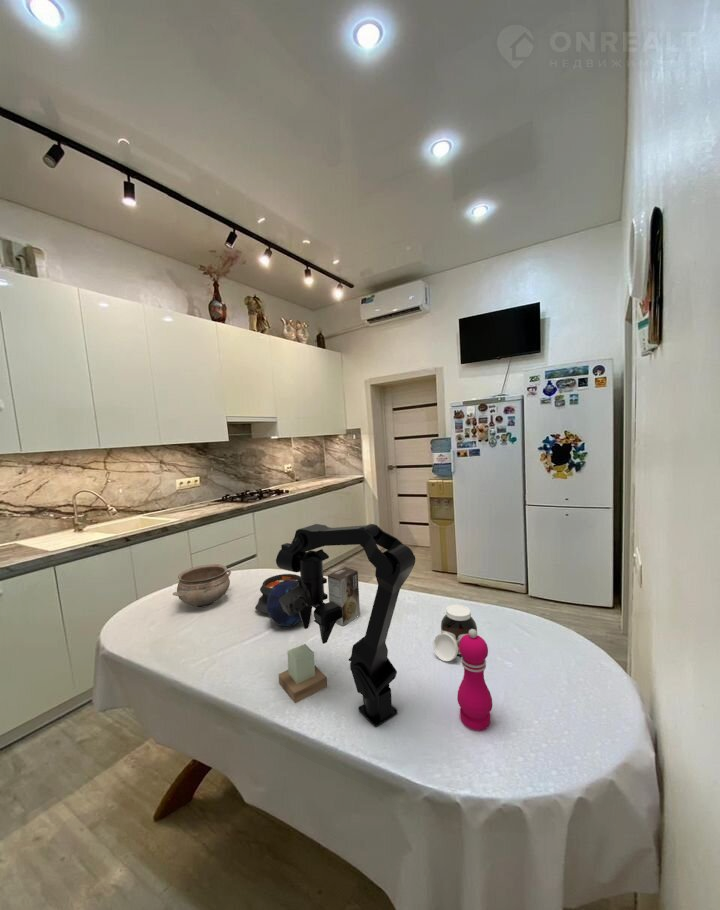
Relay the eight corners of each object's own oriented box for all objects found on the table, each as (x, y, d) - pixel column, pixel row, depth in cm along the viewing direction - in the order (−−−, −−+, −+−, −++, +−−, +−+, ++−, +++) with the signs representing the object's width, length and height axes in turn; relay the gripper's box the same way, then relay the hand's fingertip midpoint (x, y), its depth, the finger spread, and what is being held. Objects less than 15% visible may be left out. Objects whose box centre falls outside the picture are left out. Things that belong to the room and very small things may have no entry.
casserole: (280, 586, 153) (279, 567, 153) (319, 591, 147) (318, 571, 147) (242, 614, 130) (241, 591, 129) (288, 621, 123) (286, 597, 123)
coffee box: (346, 610, 129) (344, 566, 129) (360, 615, 125) (358, 570, 125) (329, 621, 122) (326, 574, 122) (343, 626, 118) (340, 578, 118)
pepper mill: (485, 705, 82) (483, 620, 81) (498, 731, 74) (496, 637, 73) (453, 708, 81) (451, 621, 80) (464, 734, 74) (461, 639, 73)
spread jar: (477, 644, 106) (476, 605, 105) (479, 668, 95) (478, 625, 94) (435, 639, 109) (434, 602, 108) (432, 662, 98) (431, 620, 97)
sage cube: (315, 675, 91) (314, 652, 90) (296, 684, 88) (295, 660, 87) (306, 666, 95) (305, 643, 94) (288, 673, 92) (287, 650, 92)
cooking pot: (215, 586, 156) (214, 559, 155) (246, 594, 146) (245, 565, 146) (159, 612, 134) (157, 580, 134) (191, 623, 125) (189, 588, 124)
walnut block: (327, 688, 90) (327, 676, 90) (295, 705, 85) (294, 693, 85) (310, 670, 97) (309, 660, 97) (279, 685, 92) (278, 674, 92)
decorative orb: (283, 626, 110) (301, 577, 117) (250, 615, 118) (269, 570, 125) (309, 636, 120) (324, 590, 127) (276, 625, 128) (293, 582, 135)
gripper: (266, 573, 93) (270, 632, 94) (301, 596, 79) (304, 666, 79) (304, 563, 100) (307, 618, 101) (342, 582, 85) (346, 646, 86)
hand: (315, 635), depth 92 cm, fingers open, 9 cm apart
